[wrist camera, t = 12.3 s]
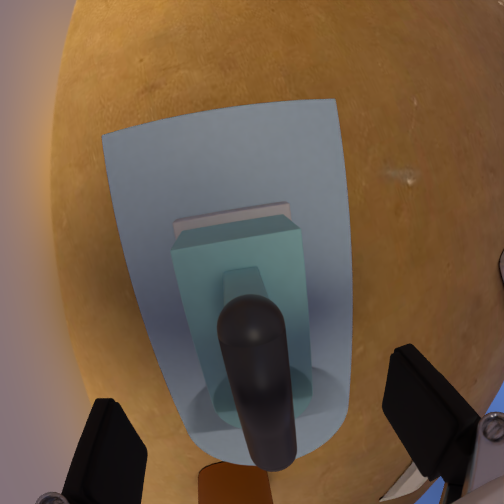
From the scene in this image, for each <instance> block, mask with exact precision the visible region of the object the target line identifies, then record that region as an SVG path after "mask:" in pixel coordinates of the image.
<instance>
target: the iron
mask: <svg viewBox="0 0 504 504" xmlns="http://www.w3.org/2000/svg"><path fill="white" fill-rule="evenodd" d="M173 229H174V234H175V239H176V241H175V243H174V245H173V246H172V248H171V250H170V253H171V258H172V262H173V266H174V271H175V275H176V279H177V283H178V287H179V291H180V295H181V299H182V303H183V307H184V311H185V314H186V318H187V322H188V325H189V329H190V333H191V336H192V340H193V343H194V346H195V350H196V353H197V357H198V360H199V363H200V367H201V370H202V373H203V376H204V379H205V382H206V386H207V389H208V392H209V395H210V398H211V401H212V404H213V407H214V410H215V412H216V413H217V414H218V415H219V417H220V418H221V419H223V420H224V421H225V422H227V423H228V424H230V425H232V426H234V427H237V428H240V429H242V431H243V434H244V437H245V441H246V444H247V448H248V451H249V454H250V457H251V459H252V461H253V463H254V464H255V465H256V466H257V467H259V468H260V469H262V470H265V471H270V472H276V471H281V470H283V469H285V468H287V467H288V466H290V465H291V464H292V463H293V461H294V460H295V458H296V455H297V439H296V428H295V419H296V418H297V417H298V416H300V415H301V414H302V413H303V412H304V411H305V409H306V408H307V407H308V405H309V403H310V401H311V399H312V396H313V381H312V359H311V341H310V325H309V310H308V297H307V285H306V273H305V262H304V251H303V241H302V232H301V228H300V227H298V226H297V225H296V224H295V223H293V222H292V219H291V211H290V204H289V203H288V202H286V201H282V202H275V203H269V204H262V205H256V206H249V207H243V208H237V209H231V210H225V211H219V212H213V213H207V214H201V215H196V216H190V217H185V218H179V219H176V220H175V221H174V222H173Z"/></svg>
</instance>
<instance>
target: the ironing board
mask: <svg viewBox="0 0 504 504" xmlns="http://www.w3.org/2000/svg"><path fill="white" fill-rule="evenodd" d="M102 143H103V150H104V157H105V164H106V170H107V176H108V182H109V187H110V193H111V198H112V203H113V208H114V213H115V218H116V222H117V227H118V231H119V236H120V240H121V244H122V248H123V252H124V256H125V260H126V264H127V267H128V271H129V275H130V278H131V282H132V285H133V289H134V292H135V296H136V299H137V302H138V305H139V309H140V312H141V315H142V318H143V321H144V324H145V327H146V330H147V333H148V336H149V339H150V342H151V344H152V347H153V350H154V353H155V355H156V358H157V361H158V363H159V366H160V369H161V371H162V374H163V376H164V379H165V381H166V384H167V386H168V389H169V391H170V393H171V396H172V398H173V401H174V403H175V405H176V407H177V410H178V412H179V414H180V416H181V419H182V421H183V423H184V425H185V427H186V429H187V432H188V434H189V436H190V437H191V439H192V440H193V442H194V443H195V444H196V445H197V446H198V447H199V448H200V449H202V450H203V451H204V452H206V453H207V454H209V455H211V456H213V457H215V458H217V459H220V460H223V461H226V462H230V463H234V464H240V465H250V466H256V465H255V464H254V463H253V461H252V459H251V457H250V454H249V451H248V448H247V444H246V441H245V437H244V434H243V431H242V429H240V428H237V427H234V426H232V425H230V424H228V423H227V422H225V421H224V420H223V419H221V418H220V417H219V415H218V414H217V413H216V412H215V410H214V407H213V404H212V401H211V398H210V395H209V392H208V389H207V386H206V382H205V379H204V376H203V373H202V370H201V367H200V363H199V360H198V357H197V353H196V350H195V346H194V343H193V340H192V336H191V333H190V329H189V325H188V322H187V318H186V314H185V311H184V307H183V303H182V299H181V295H180V291H179V287H178V283H177V279H176V275H175V271H174V266H173V262H172V258H171V253H170V250H171V248H172V246H173V245H174V243H175V241H176V239H175V234H174V229H173V222H174V221H175V220H176V219H179V218H185V217H190V216H196V215H201V214H207V213H213V212H219V211H225V210H231V209H237V208H243V207H249V206H256V205H262V204H269V203H275V202H282V201H286V202H288V203H289V204H290V211H291V219H292V222H293V223H295V224H296V225H297V226H298V227H300V228H301V232H302V241H303V251H304V262H305V273H306V285H307V297H308V310H309V325H310V341H311V359H312V381H313V396H312V399H311V401H310V403H309V405H308V407H307V408H306V409H305V411H304V412H303V413H302V414H301V415H300V416H298V417H297V418H296V419H295V428H296V439H297V455H296V458H299V457H301V456H304V455H306V454H308V453H310V452H312V451H313V450H315V449H317V448H318V447H320V446H321V445H323V444H324V443H325V442H326V441H328V440H329V439H330V438H331V437H332V436H333V435H334V434H335V433H336V432H337V430H338V429H339V428H340V426H341V425H342V423H343V421H344V419H345V417H346V414H347V410H348V402H349V389H350V374H351V354H352V255H351V234H350V218H349V205H348V193H347V182H346V173H345V164H344V155H343V147H342V140H341V132H340V125H339V119H338V112H337V106H336V100H335V99H311V100H293V101H280V102H268V103H259V104H250V105H242V106H234V107H227V108H220V109H214V110H208V111H202V112H196V113H191V114H185V115H180V116H175V117H171V118H166V119H162V120H157V121H153V122H149V123H145V124H141V125H137V126H133V127H129V128H125V129H122V130H118V131H115V132H111V133H108V134H104V135H102ZM296 458H295V459H296Z"/></svg>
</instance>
